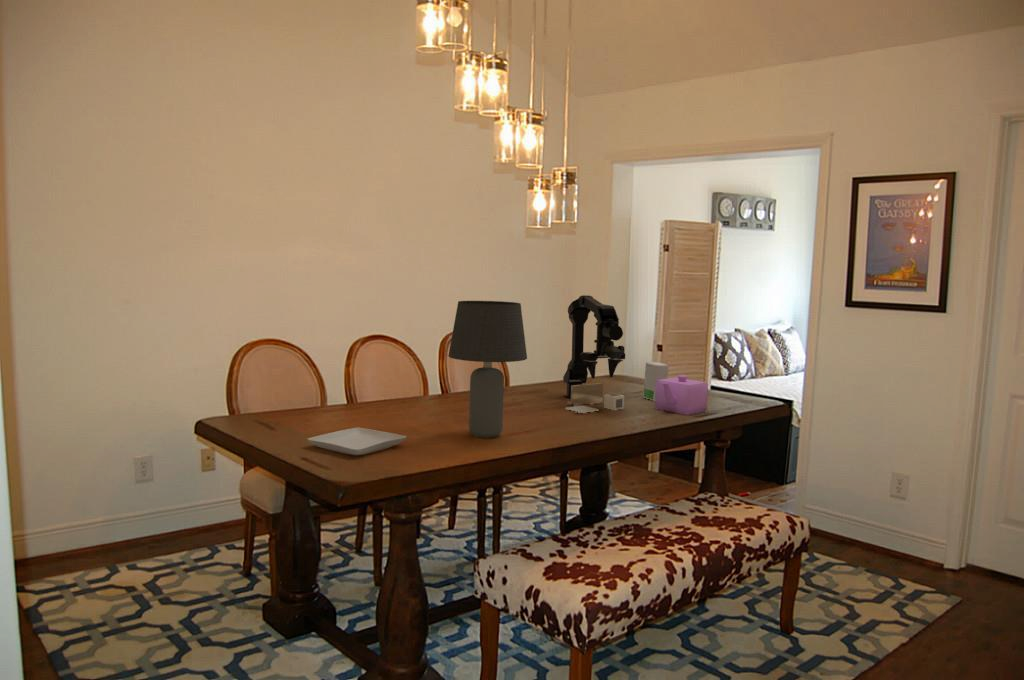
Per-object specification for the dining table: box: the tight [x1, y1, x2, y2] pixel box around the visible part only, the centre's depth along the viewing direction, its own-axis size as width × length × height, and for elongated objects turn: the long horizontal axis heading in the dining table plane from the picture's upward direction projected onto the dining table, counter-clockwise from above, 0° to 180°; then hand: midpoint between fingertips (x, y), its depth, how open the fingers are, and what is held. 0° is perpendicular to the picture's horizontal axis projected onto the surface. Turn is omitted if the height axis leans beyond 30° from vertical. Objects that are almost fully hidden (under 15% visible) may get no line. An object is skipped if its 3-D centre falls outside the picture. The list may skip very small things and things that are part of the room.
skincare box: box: [642, 361, 669, 402], centre depth 322 cm, size 8×7×16 cm
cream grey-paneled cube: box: [603, 393, 625, 411], centre depth 298 cm, size 6×6×6 cm
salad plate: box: [306, 427, 407, 456], centre depth 225 cm, size 21×21×3 cm
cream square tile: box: [565, 405, 600, 414], centre depth 293 cm, size 9×9×1 cm
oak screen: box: [567, 382, 604, 407], centre depth 306 cm, size 5×16×8 cm, turn 127°
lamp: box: [447, 300, 528, 439], centre depth 243 cm, size 25×25×43 cm
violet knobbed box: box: [654, 374, 709, 416], centre depth 299 cm, size 15×25×14 cm, turn 133°
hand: (602, 377), depth 296 cm, fingers open, 9 cm apart
